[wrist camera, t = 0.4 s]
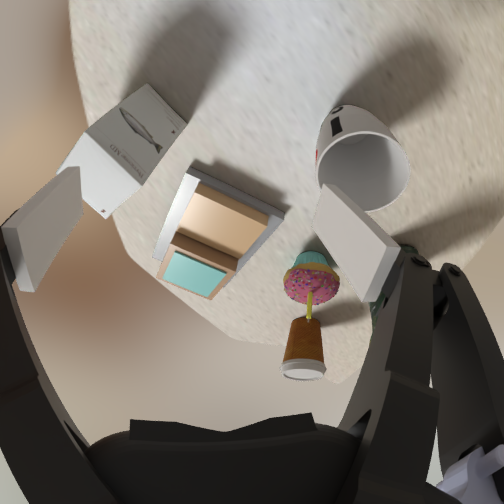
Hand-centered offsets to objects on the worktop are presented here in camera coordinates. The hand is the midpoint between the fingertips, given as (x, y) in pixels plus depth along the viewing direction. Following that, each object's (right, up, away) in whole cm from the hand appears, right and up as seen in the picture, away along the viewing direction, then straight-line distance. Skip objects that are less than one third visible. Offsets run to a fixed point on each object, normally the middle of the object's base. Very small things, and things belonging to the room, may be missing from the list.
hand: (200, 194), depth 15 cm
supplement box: (-10, +13, +16) cm, 23 cm away
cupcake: (+12, -4, +32) cm, 34 cm away
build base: (-4, 0, +30) cm, 30 cm away
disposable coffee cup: (+14, -18, +48) cm, 53 cm away
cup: (+13, +11, +14) cm, 22 cm away
